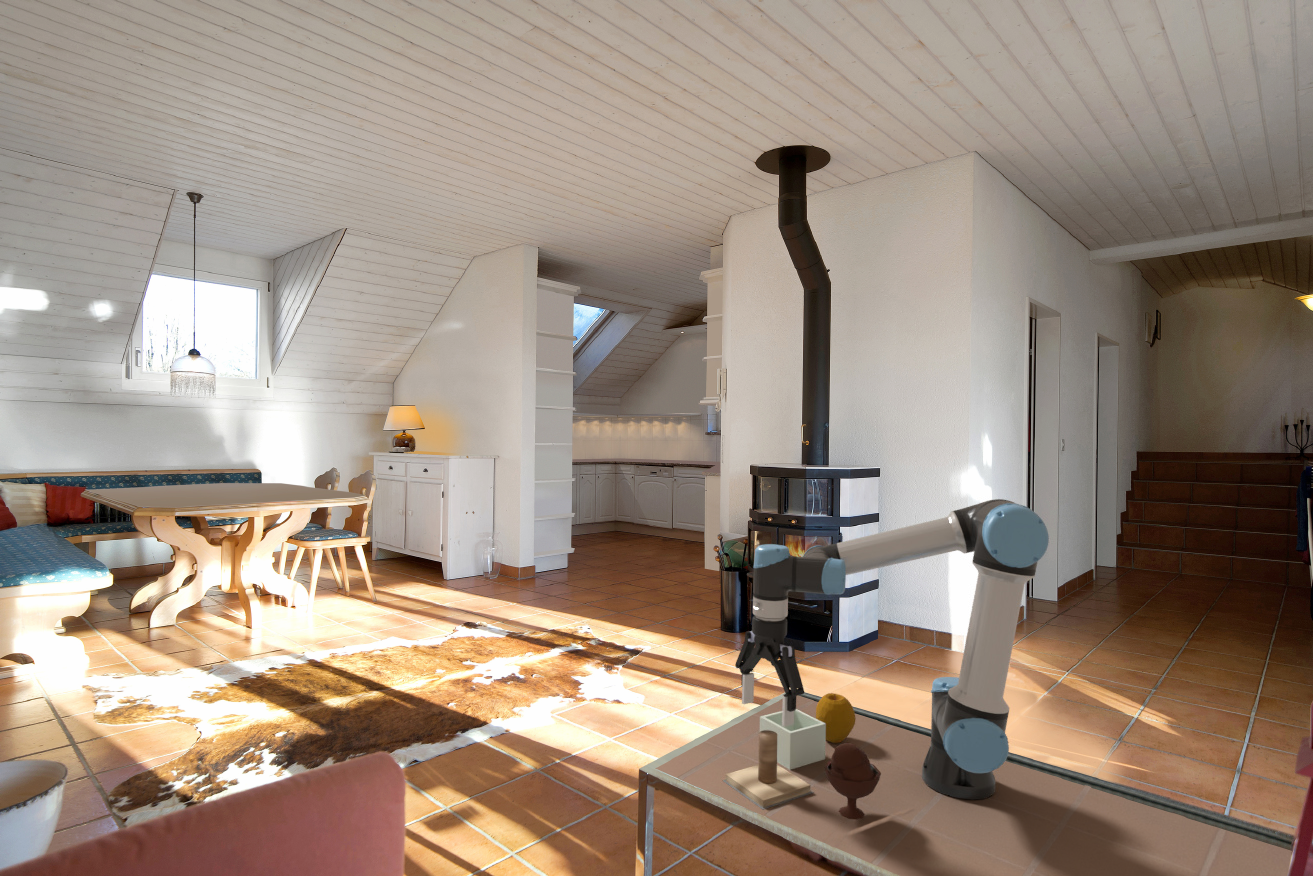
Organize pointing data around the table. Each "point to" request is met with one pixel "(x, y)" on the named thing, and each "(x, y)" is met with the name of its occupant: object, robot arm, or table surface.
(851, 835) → the table surface
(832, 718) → the apple
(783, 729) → the pale green open box
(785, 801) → the mat
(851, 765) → the ice cream bowl
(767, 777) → the lid
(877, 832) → the table surface
